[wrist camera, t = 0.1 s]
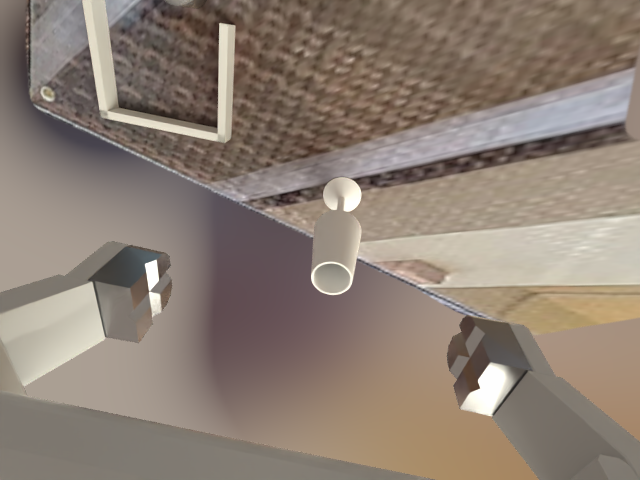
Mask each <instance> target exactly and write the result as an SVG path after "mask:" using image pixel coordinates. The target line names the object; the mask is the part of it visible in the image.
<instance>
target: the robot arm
mask: <svg viewBox="0 0 640 480" xmlns="http://www.w3.org/2000/svg"><path fill="white" fill-rule="evenodd" d="M170 266H171V264H170V256H169V255H168V254H166V253H164V252H159V251H154V250H151V249H146V248H142V247H137V246H133V245H128V244H123V243H118V242H114V241H112V242H107V243H106V244H104V245H103V246H102V247H101V248H99V249H98V250H97V251H96V252H94V253H93V254H92V255H90V256H89V257H88V258H87V259H85V260H84V261H83V262H82V263H80V264H79V265H78V266H77V267H75V268H74V269H73V270H72V271H70V272H69V273H68V274H67V275H65V276H62V275H56V276H53V277H50V278H46V279H43V280H40V281H36V282H33V283H30V284H26V285H23V286H20V287H17V288H13V289H10V290H7V291H4V292H0V480H434V479H430V478H425V477H420V476H415V475H410V474H405V473H400V472H395V471H390V470H385V469H381V468H376V467H370V466H366V465H361V464H356V463H351V462H346V461H341V460H336V459H331V458H326V457H322V456H317V455H312V454H307V453H302V452H298V451H293V450H288V449H283V448H278V447H273V446H268V445H264V444H259V443H254V442H249V441H244V440H239V439H234V438H230V437H224V436H220V435H215V434H210V433H205V432H200V431H195V430H191V429H185V428H181V427H176V426H171V425H166V424H161V423H157V422H152V421H146V420H142V419H137V418H132V417H127V416H122V415H118V414H113V413H108V412H103V411H98V410H93V409H88V408H84V407H79V406H74V405H69V404H64V403H59V402H54V401H49V400H44V399H40V398H35V397H30V396H28V395H27V393H26V391H25V389H24V386H25V385H27V384H29V383H31V382H32V381H34V380H36V379H37V378H39V377H41V376H43V375H44V374H46V373H48V372H50V371H51V370H53V369H55V368H56V367H58V366H60V365H61V364H63V363H65V362H66V361H68V360H70V359H72V358H74V357H75V356H77V355H79V354H81V353H82V352H84V351H86V350H87V349H89V348H91V347H93V346H94V345H96V344H98V343H99V342H101V341H103V340H105V337H107V338H113V339H119V340H125V341H130V342H136V343H139V342H140V341H141V340H142V338H143V337H144V335H145V334H146V333H147V331H148V330H149V329H150V327H151V326H152V325H153V320H152V316H154V315H156V314H159V313H161V312H162V311H163V309H164V308H165V307H166V305H167V303H168V300H169V298H170V296H171V290H172V279H171V277H170V276H169V275H168V274H167V272H166V271H167V270H168V269H169V268H170ZM459 326H460V329H461V333H459V334H457V335H455V336H453V337H452V340H451V342H450V344H449V346H448V352H447V363H448V367H449V371H450V372H451V373H452V374H453V375H454V377H455V378H456V379H457V380H456V382H455V384H454V385H453V386H454V390H455V393H456V397H457V401H458V405H459V409H462V410H467V411H471V412H475V413H480V414H484V415H488V416H492V419H493V420H494V421H495V423H496V424H497V425H498V426H499V428H500V429H501V430H502V432H503V433H504V434H505V435H506V437H507V438H508V440H509V441H510V442H511V443H512V445H513V446H514V447H515V449H516V450H517V451H518V453H519V454H520V455H521V457H522V458H523V459H524V460H525V462H526V463H527V464H528V465H529V467H530V468H531V470H532V471H533V472H534V473H535V475H536V476H537V477H538V479H539V480H640V442H639V441H638V440H637V439H636V438H635V437H634V436H632V435H631V434H630V433H629V432H627V431H626V430H625V429H624V428H622V427H621V426H620V425H619V424H618V423H617V422H615V421H614V420H613V419H612V418H610V417H609V416H608V415H607V414H605V413H604V412H603V411H602V410H601V409H599V408H598V407H597V406H596V405H595V404H593V403H592V402H591V401H590V400H589V399H587V398H586V397H585V396H583V395H582V394H581V393H580V392H579V391H578V390H576V389H575V388H574V387H573V386H571V385H570V384H569V383H568V382H567V381H565V380H564V379H563V378H561V377H556V376H555V374H554V372H553V371H552V369H551V367H550V365H549V364H548V362H547V360H546V358H545V357H544V355H543V353H542V351H541V350H540V348H539V346H538V345H537V343H536V341H535V339H534V338H533V336H532V334H531V332H530V331H529V329H528V328H527V327H525V326H524V325H520V324H514V323H509V322H501V321H496V320H491V319H486V318H481V317H476V316H471V315H466V316H465V317H464V318H463V319H462V321H461V323H460V325H459Z"/></svg>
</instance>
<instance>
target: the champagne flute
mask: <svg viewBox="0 0 640 480" xmlns="http://www.w3.org/2000/svg"><path fill="white" fill-rule="evenodd" d="M323 198H324V201H325V203H326V205H327V206H328V207H329V208H330V209H332V210H331V211H328V212H326V213H324V214H323V215H321V216H320V218H319V219H318V220H317V222H316V223H315V227H314V240H313V258H312V274H311V279H312V283H313V285H314V286H315V287H316V288H317V289H318V290H319V291H321V292H323V293H326V294H330V295H337V294H341V293H343V292H345V291H346V290H348V289H349V288H350V286H351V284H352V280H353V275H354V270H355V264H356V259H357V254H358V249H359V244H360V238H361V227H360V224H359V222H358V220H357V219H356V218H355V217H354V216H353V215H352V214H350V213H348V212H349V211H351V210H353V209H354V208H356V207H357V206H358V204H359V202H360V200H361V190H360V188H359V186H358V185H357V183H356V182H354V181H353V180H351V179H349V178H346V177H339V178H335V179H333V180H331V181H330V182H328V183H327V185H326V186H325V188H324V191H323Z"/></svg>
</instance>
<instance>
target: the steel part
mask: <svg viewBox="0 0 640 480" xmlns="http://www.w3.org/2000/svg"><path fill="white" fill-rule="evenodd" d="M165 1H166V2H168V3H169V4H172V5H177V6H182V7H188V8H194V9H198V8H201V7H202V6H203V5H204V4H205V3H206V1H207V0H165Z"/></svg>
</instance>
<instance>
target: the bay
mask: <svg viewBox="0 0 640 480" xmlns="http://www.w3.org/2000/svg"><path fill="white" fill-rule="evenodd" d="M82 2H83V8H84V15H85V21H86V27H87V33H88V40H89V46H90V52H91V58H92V65H93V71H94V77H95V84H96V90H97V96H98V102H99V109H100V115H101V117H102V118H106V119H111V120H116V121H121V122H126V123H131V124H135V125H140V126H145V127H150V128H155V129H160V130H165V131H169V132H174V133H179V134H184V135H189V136H194V137H198V138H203V139H208V140H213V141H218V142H223V143H226V142H227V141H228V140H229V139H231V129H232V102H233V75H234V48H235V25H231V24H225V23H219V78H218V128H215V127H210V126H205V125H201V124H196V123H191V122H186V121H181V120H176V119H171V118H167V117H162V116H157V115H152V114H147V113H142V112H138V111H133V110H128V109H123V108H119V105H118V97H117V89H116V82H115V74H114V66H113V59H112V51H111V43H110V36H109V28H108V20H107V13H106V5H105V0H82Z"/></svg>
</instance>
